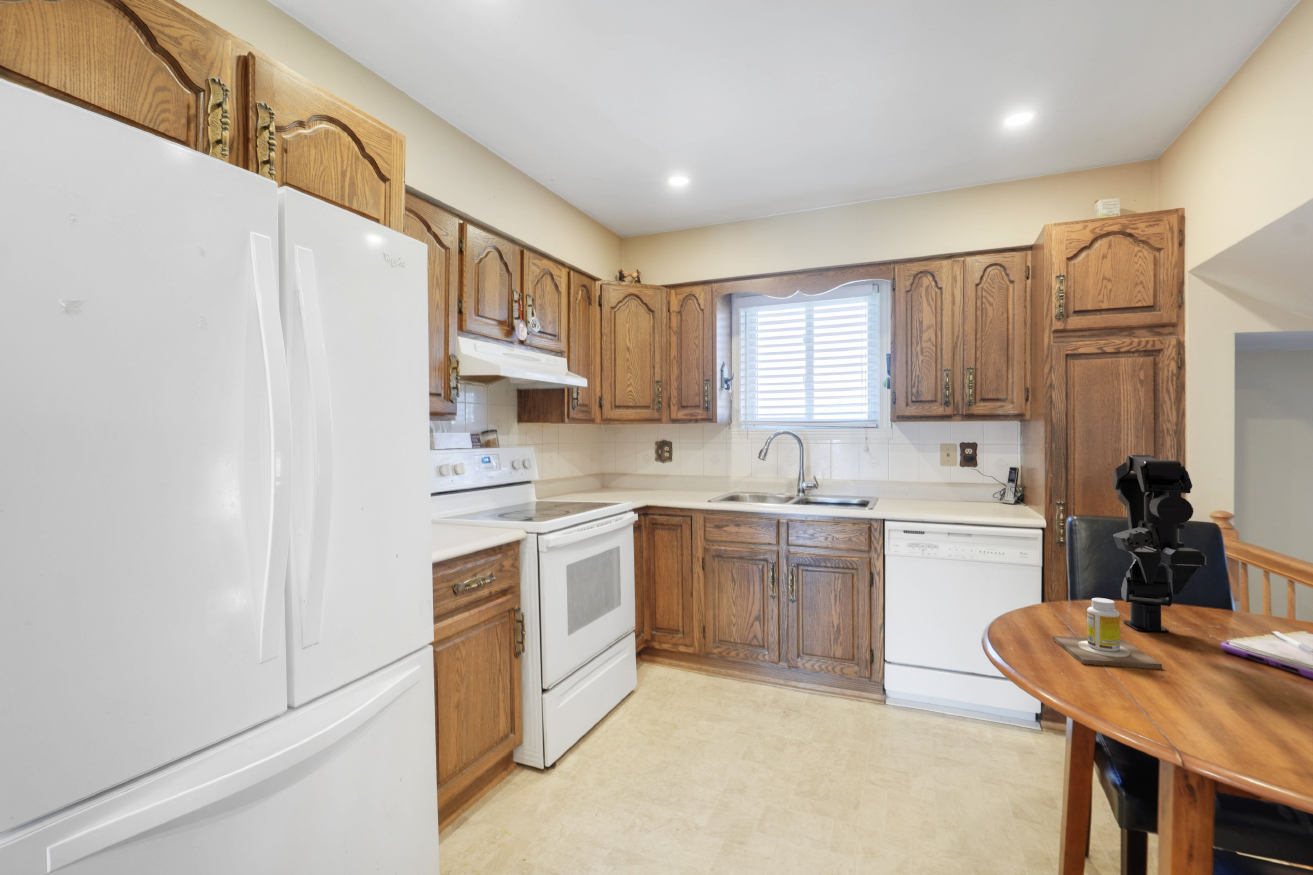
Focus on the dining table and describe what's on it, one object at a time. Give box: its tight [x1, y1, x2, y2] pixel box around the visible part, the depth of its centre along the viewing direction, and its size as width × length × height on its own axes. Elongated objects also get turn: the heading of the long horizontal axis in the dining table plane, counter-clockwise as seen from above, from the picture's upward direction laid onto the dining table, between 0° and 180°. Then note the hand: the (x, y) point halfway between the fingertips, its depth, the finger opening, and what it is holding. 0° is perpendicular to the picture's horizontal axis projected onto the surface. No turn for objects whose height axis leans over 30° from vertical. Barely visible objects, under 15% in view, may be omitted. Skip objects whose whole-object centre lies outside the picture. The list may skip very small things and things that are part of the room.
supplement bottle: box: [1086, 597, 1121, 652], centre depth 125 cm, size 6×6×10 cm
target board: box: [1052, 635, 1163, 670], centre depth 125 cm, size 14×14×1 cm
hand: (1161, 588), depth 128 cm, fingers open, 9 cm apart
